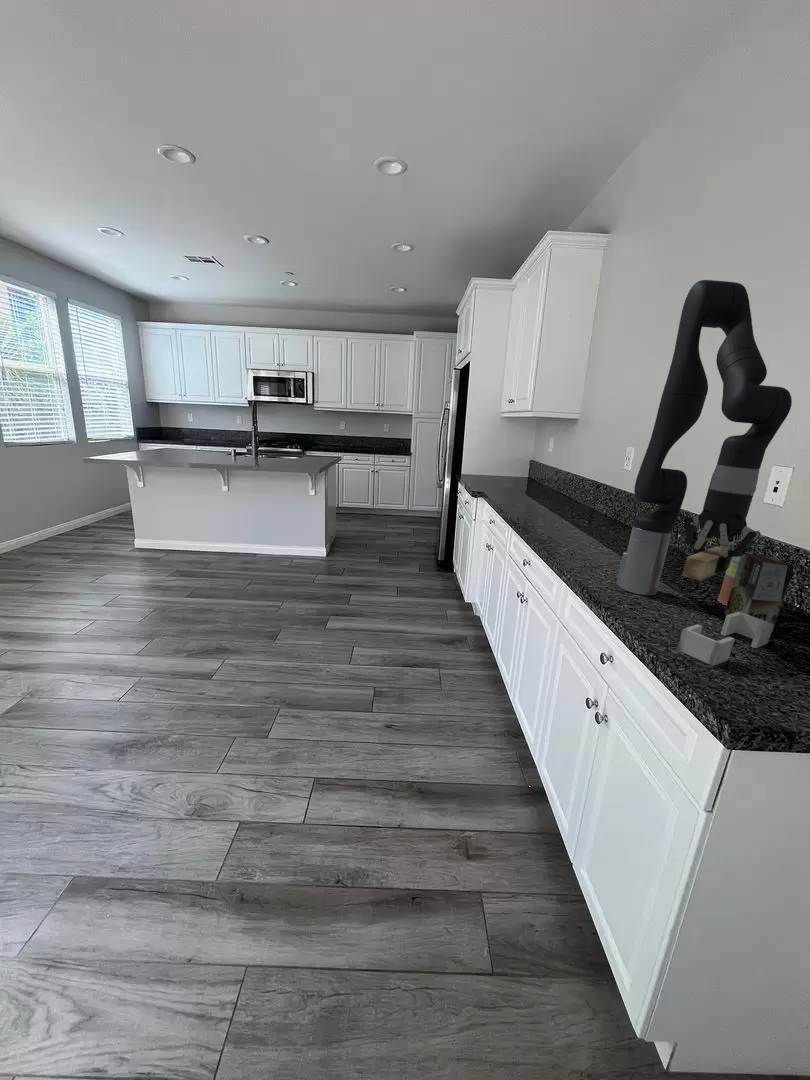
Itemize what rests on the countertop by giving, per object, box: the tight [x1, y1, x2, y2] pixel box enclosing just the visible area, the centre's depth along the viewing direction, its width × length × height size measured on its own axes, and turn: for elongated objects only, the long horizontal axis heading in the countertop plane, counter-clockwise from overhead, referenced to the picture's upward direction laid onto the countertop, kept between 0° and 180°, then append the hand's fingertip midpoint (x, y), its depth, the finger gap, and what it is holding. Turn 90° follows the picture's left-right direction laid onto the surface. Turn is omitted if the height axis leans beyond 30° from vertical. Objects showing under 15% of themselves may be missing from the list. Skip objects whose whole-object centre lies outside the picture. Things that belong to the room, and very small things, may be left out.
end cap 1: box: [676, 623, 735, 667], centre depth 84 cm, size 7×6×4 cm
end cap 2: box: [720, 612, 775, 649], centre depth 94 cm, size 7×6×4 cm
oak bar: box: [681, 546, 732, 582], centre depth 92 cm, size 3×18×4 cm, turn 129°
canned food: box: [717, 556, 741, 607], centre depth 114 cm, size 11×11×12 cm
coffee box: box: [724, 552, 795, 634], centre depth 102 cm, size 9×6×16 cm
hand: (707, 569), depth 93 cm, fingers closed on oak bar, 3 cm apart
